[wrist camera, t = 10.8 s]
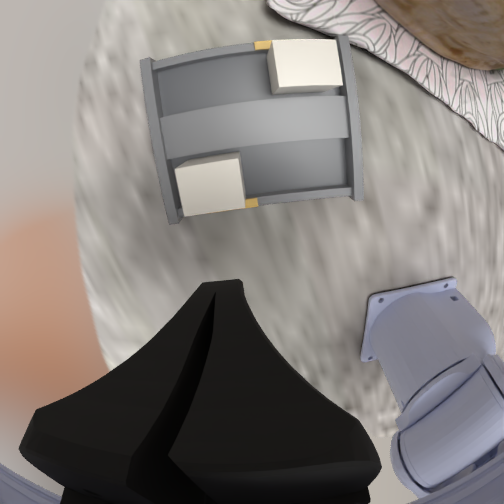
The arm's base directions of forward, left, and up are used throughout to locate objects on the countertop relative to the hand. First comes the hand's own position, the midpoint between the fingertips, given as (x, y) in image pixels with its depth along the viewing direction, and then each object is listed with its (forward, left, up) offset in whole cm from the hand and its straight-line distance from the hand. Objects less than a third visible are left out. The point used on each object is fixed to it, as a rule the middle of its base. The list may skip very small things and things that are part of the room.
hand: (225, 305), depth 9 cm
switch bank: (-2, -6, -10) cm, 11 cm away
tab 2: (-5, -8, -9) cm, 13 cm away
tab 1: (+1, -3, -9) cm, 9 cm away
